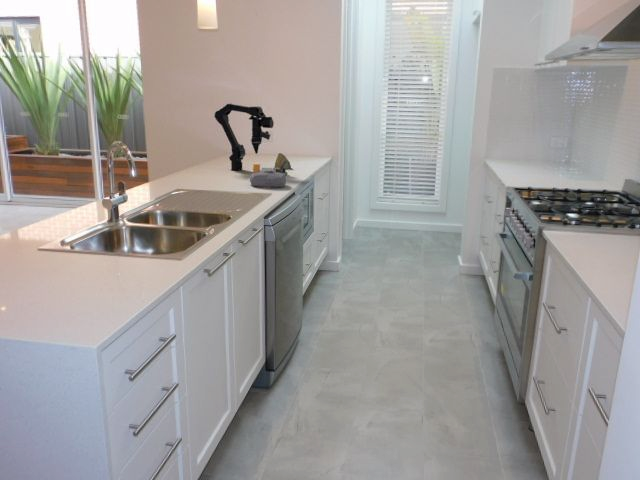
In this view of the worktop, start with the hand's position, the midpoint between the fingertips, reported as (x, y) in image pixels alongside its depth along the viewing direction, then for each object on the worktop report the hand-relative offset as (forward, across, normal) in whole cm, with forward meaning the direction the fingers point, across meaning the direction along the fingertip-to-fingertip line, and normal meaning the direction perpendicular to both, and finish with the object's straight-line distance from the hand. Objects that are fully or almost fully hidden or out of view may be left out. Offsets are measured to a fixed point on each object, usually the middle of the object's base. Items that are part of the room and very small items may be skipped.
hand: (256, 152), depth 349 cm
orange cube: (+12, 0, 0) cm, 12 cm away
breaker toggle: (+9, -11, -15) cm, 21 cm away
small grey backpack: (+12, -48, -7) cm, 50 cm away
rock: (+12, +16, -17) cm, 26 cm away
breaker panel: (+12, -6, -10) cm, 17 cm away
